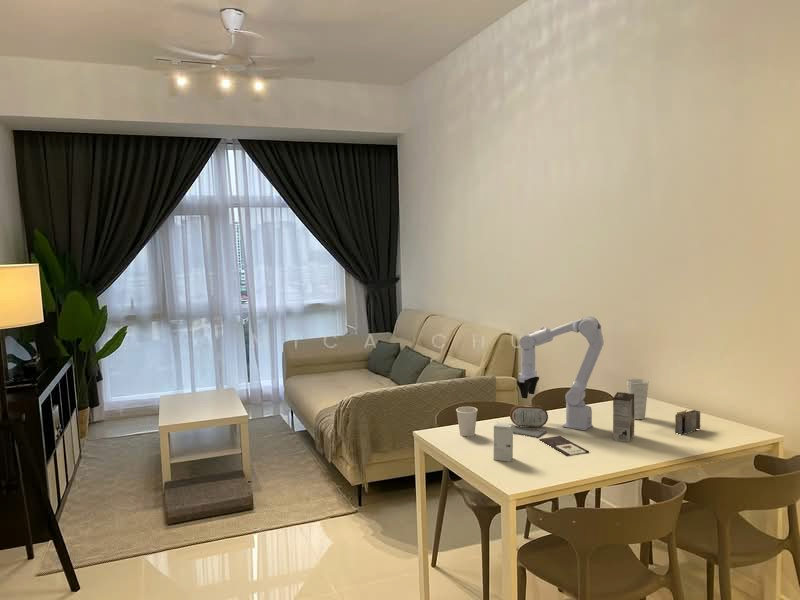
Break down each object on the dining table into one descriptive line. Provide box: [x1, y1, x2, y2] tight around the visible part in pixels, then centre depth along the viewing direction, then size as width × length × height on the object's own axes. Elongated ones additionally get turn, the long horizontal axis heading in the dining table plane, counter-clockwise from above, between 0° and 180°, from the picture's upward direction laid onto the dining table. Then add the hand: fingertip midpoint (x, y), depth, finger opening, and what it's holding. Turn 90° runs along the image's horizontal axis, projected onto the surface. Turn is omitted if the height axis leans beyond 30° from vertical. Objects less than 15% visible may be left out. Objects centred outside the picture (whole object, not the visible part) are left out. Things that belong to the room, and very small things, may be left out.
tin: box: [509, 404, 549, 428], centre depth 240 cm, size 15×3×8 cm, turn 85°
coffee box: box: [612, 391, 635, 443], centre depth 223 cm, size 9×6×16 cm
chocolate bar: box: [538, 435, 590, 457], centre depth 217 cm, size 9×1×18 cm
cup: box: [626, 378, 649, 420], centre depth 247 cm, size 8×8×16 cm
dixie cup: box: [455, 406, 478, 437], centre depth 232 cm, size 8×8×10 cm
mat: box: [513, 424, 547, 439], centre depth 235 cm, size 17×8×1 cm, turn 53°
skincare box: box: [492, 421, 514, 463], centre depth 205 cm, size 6×4×12 cm
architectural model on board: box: [674, 409, 701, 435], centre depth 228 cm, size 11×3×10 cm, turn 120°
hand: (528, 396), depth 247 cm, fingers open, 7 cm apart
